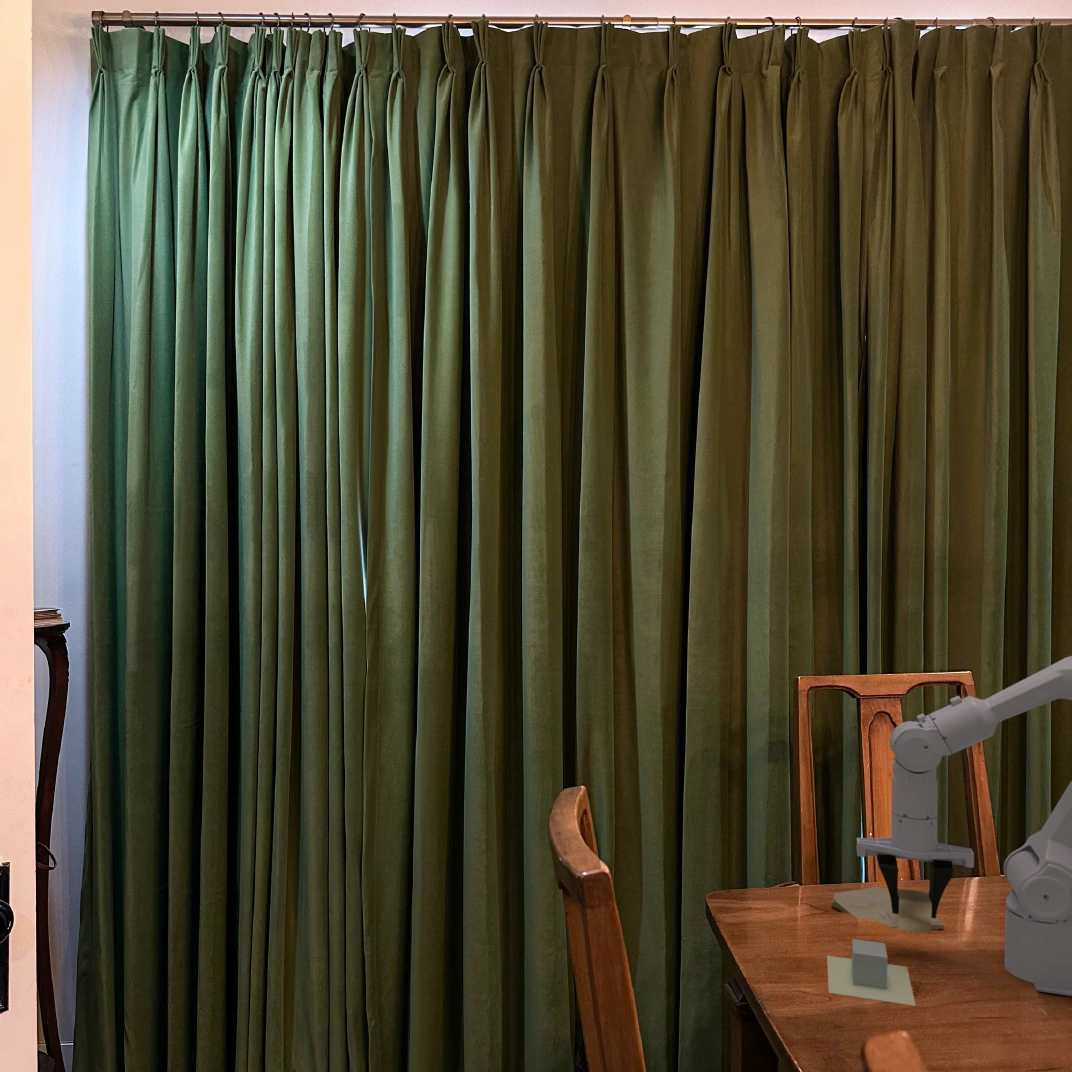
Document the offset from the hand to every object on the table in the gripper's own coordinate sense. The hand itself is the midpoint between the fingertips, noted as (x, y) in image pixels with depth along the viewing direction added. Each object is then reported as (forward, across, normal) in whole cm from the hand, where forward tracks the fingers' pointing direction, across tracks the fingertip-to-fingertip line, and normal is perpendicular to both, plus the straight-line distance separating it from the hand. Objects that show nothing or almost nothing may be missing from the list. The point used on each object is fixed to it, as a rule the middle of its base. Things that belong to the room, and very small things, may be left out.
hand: (913, 913), depth 123 cm
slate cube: (+6, +6, +9) cm, 12 cm away
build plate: (+7, +6, +9) cm, 13 cm away
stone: (+7, +3, -14) cm, 16 cm away
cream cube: (+2, 0, 0) cm, 2 cm away
